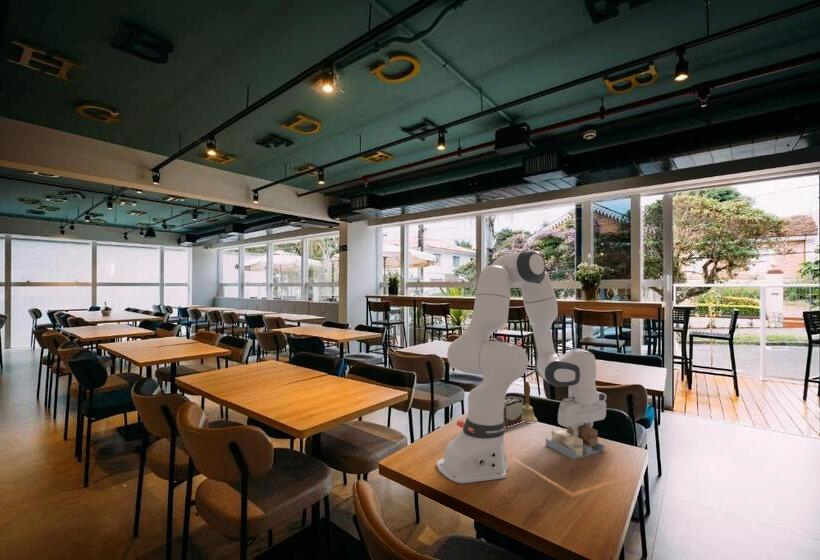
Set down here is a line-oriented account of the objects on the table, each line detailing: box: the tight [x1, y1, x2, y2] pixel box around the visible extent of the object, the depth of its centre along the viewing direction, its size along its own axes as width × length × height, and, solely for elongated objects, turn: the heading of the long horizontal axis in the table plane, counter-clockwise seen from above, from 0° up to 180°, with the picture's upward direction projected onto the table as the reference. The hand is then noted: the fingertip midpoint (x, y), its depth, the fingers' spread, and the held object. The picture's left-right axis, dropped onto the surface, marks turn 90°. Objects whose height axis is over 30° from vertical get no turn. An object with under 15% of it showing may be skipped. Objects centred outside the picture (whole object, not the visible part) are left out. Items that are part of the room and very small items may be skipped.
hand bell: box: [522, 381, 538, 423], centre depth 162 cm, size 8×8×16 cm
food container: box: [503, 396, 525, 428], centre depth 158 cm, size 12×6×10 cm, turn 128°
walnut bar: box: [566, 424, 599, 447], centre depth 135 cm, size 10×4×5 cm, turn 23°
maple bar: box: [551, 429, 583, 456], centre depth 131 cm, size 10×4×5 cm, turn 26°
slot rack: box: [545, 437, 606, 460], centre depth 133 cm, size 14×12×3 cm
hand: (581, 435), depth 135 cm, fingers closed on walnut bar, 4 cm apart
